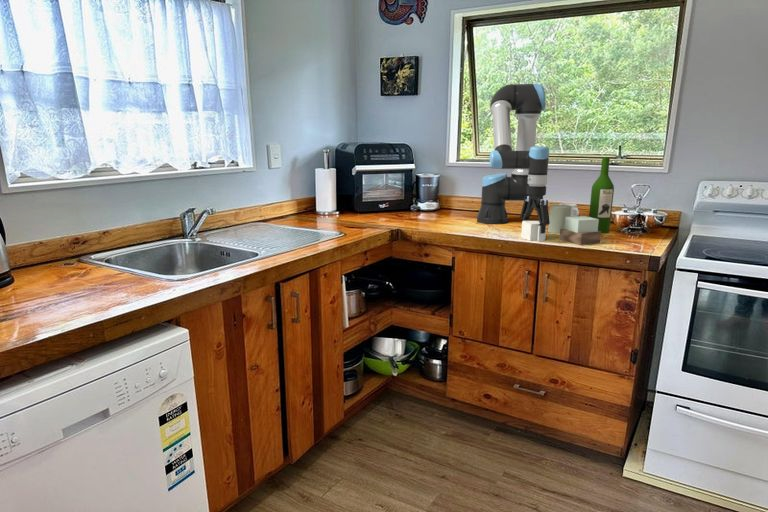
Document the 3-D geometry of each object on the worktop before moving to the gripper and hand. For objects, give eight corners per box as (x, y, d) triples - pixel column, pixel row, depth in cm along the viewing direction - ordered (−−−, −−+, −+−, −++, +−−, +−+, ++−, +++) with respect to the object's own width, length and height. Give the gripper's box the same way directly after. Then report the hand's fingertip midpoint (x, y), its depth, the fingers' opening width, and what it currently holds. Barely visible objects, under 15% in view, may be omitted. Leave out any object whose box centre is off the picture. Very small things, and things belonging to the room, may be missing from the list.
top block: (564, 228, 202) (565, 216, 201) (583, 227, 204) (584, 215, 203) (577, 232, 194) (578, 220, 193) (597, 231, 196) (598, 219, 195)
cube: (521, 237, 208) (522, 221, 206) (535, 236, 210) (536, 220, 208) (530, 241, 201) (531, 224, 200) (545, 240, 203) (546, 223, 201)
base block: (559, 241, 203) (560, 229, 201) (578, 238, 207) (579, 226, 206) (580, 246, 193) (581, 233, 192) (600, 243, 198) (601, 231, 197)
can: (570, 234, 214) (573, 206, 212) (548, 233, 216) (550, 206, 213) (567, 230, 223) (569, 203, 220) (546, 229, 225) (548, 203, 222)
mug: (570, 228, 228) (572, 207, 225) (553, 223, 239) (555, 203, 236) (584, 227, 230) (586, 206, 228) (567, 222, 241) (569, 202, 239)
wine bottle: (594, 233, 214) (602, 158, 207) (583, 230, 223) (590, 157, 215) (613, 233, 216) (622, 157, 208) (601, 229, 224) (609, 156, 216)
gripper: (513, 182, 210) (510, 233, 215) (545, 188, 188) (540, 244, 194) (529, 182, 212) (526, 232, 217) (562, 187, 190) (557, 243, 195)
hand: (533, 238), depth 205 cm, fingers open, 11 cm apart
